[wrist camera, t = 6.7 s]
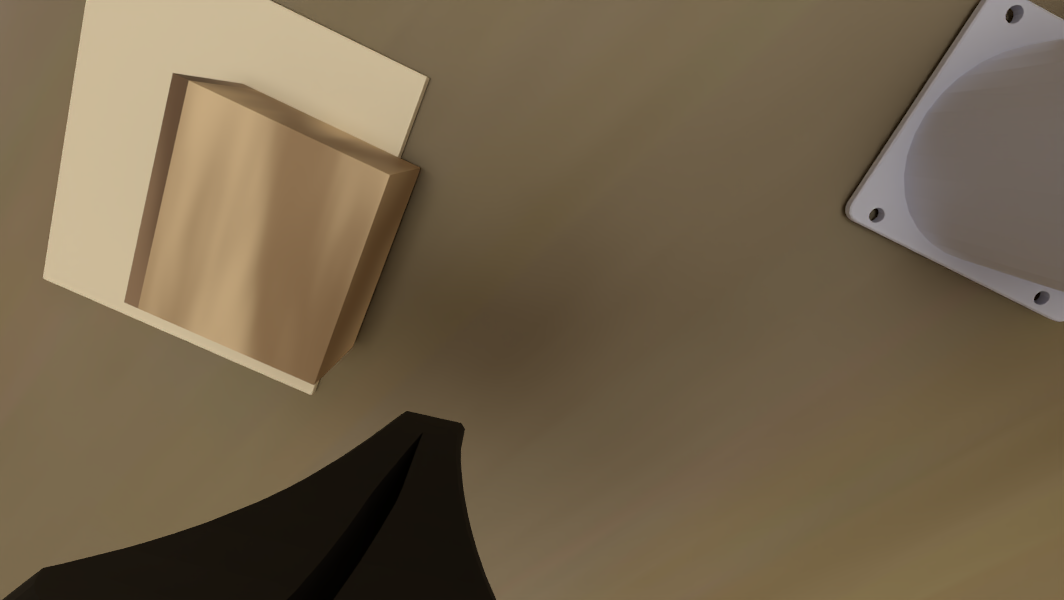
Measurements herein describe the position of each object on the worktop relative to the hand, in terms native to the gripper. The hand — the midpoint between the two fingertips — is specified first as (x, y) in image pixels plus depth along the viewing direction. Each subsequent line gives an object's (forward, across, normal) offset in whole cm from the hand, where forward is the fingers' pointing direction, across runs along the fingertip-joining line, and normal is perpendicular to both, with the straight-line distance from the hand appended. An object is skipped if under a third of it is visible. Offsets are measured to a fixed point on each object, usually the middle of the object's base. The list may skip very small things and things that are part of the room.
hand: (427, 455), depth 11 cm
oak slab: (+8, +4, -1) cm, 9 cm away
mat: (+10, +11, -2) cm, 15 cm away
